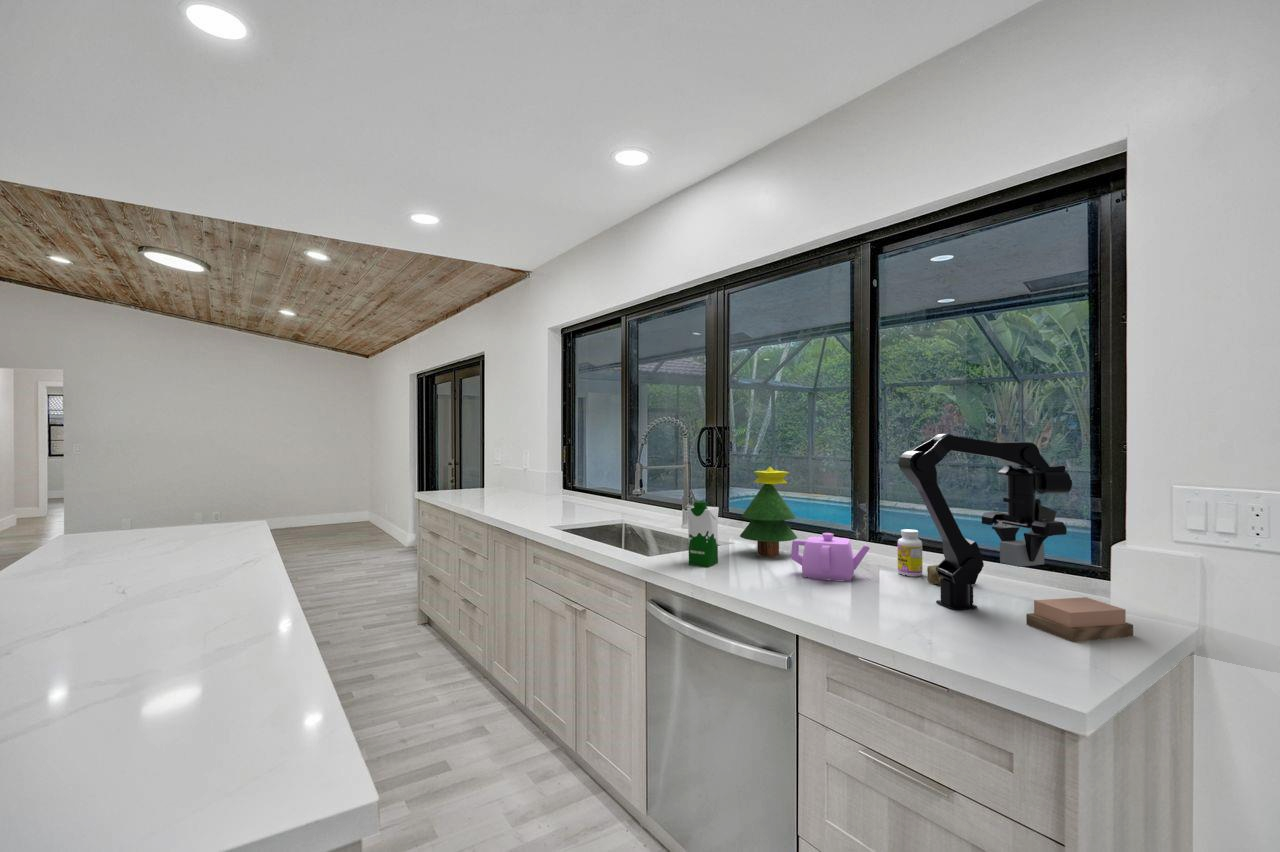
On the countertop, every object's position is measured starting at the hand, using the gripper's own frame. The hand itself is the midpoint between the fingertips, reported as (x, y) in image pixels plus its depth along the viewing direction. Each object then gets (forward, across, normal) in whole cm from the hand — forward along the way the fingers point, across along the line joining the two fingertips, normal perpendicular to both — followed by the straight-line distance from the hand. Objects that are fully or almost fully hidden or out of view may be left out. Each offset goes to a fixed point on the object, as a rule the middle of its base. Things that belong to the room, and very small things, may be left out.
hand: (1021, 559), depth 144 cm
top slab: (+9, -17, +4) cm, 20 cm away
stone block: (+12, +22, +1) cm, 25 cm away
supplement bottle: (+11, +34, +4) cm, 36 cm away
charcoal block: (+1, 0, 0) cm, 1 cm away
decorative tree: (+11, +71, +31) cm, 78 cm away
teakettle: (+12, +40, +27) cm, 49 cm away
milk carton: (+11, +64, +57) cm, 86 cm away
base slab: (+12, -17, +4) cm, 21 cm away
